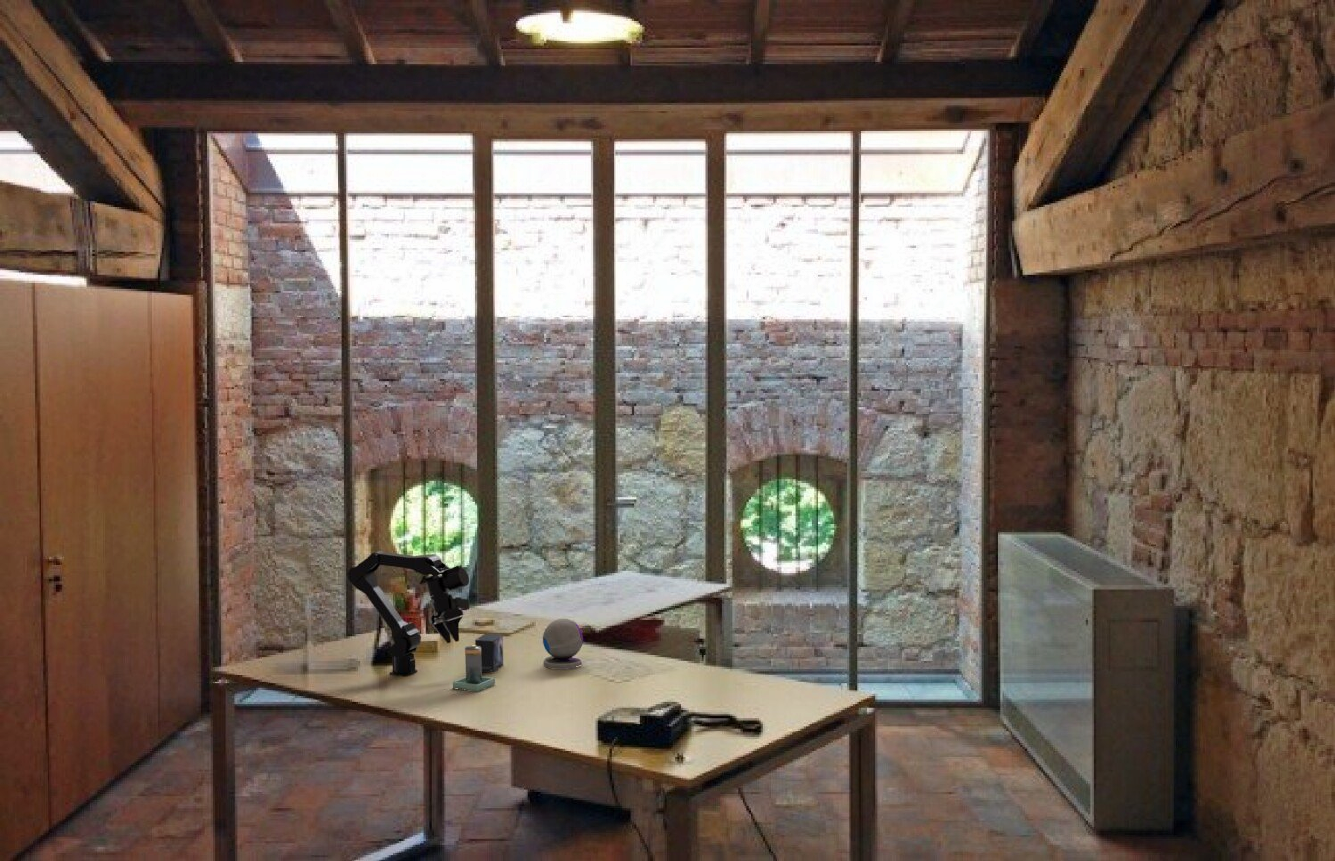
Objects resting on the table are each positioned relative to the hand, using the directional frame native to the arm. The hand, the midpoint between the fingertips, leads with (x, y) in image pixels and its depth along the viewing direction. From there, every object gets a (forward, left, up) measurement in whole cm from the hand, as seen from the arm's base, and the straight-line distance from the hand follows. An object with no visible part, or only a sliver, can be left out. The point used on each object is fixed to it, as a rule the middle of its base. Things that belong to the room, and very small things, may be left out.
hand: (453, 642), depth 452 cm
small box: (+4, +14, -12) cm, 19 cm away
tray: (+12, -7, -11) cm, 18 cm away
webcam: (+23, +28, -11) cm, 38 cm away
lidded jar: (+12, -7, -11) cm, 17 cm away
